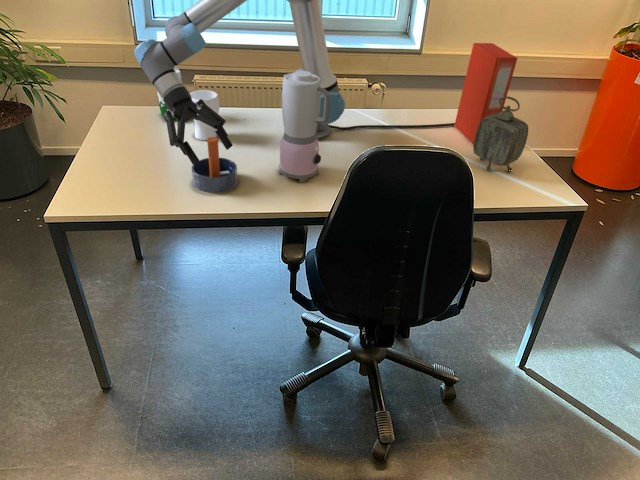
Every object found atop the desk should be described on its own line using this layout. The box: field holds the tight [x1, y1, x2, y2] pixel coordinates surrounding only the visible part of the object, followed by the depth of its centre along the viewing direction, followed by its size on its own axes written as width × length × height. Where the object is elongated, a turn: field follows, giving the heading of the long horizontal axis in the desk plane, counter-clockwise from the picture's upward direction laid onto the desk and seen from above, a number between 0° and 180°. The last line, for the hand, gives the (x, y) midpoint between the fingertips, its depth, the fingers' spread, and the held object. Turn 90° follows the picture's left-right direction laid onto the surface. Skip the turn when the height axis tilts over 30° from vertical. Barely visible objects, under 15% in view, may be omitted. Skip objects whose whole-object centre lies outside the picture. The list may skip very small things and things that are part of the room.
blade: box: [206, 137, 230, 177], centre depth 155 cm, size 9×4×14 cm, turn 113°
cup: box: [189, 89, 221, 141], centre depth 182 cm, size 11×11×15 cm
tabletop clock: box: [472, 95, 529, 173], centre depth 171 cm, size 14×9×25 cm, turn 44°
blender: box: [278, 70, 330, 183], centre depth 158 cm, size 16×12×32 cm
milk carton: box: [156, 66, 182, 122], centre depth 192 cm, size 9×9×20 cm
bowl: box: [191, 157, 239, 194], centre depth 158 cm, size 13×13×6 cm
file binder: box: [453, 42, 518, 145], centre depth 191 cm, size 8×17×32 cm, turn 13°
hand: (213, 155), depth 153 cm, fingers open, 13 cm apart
